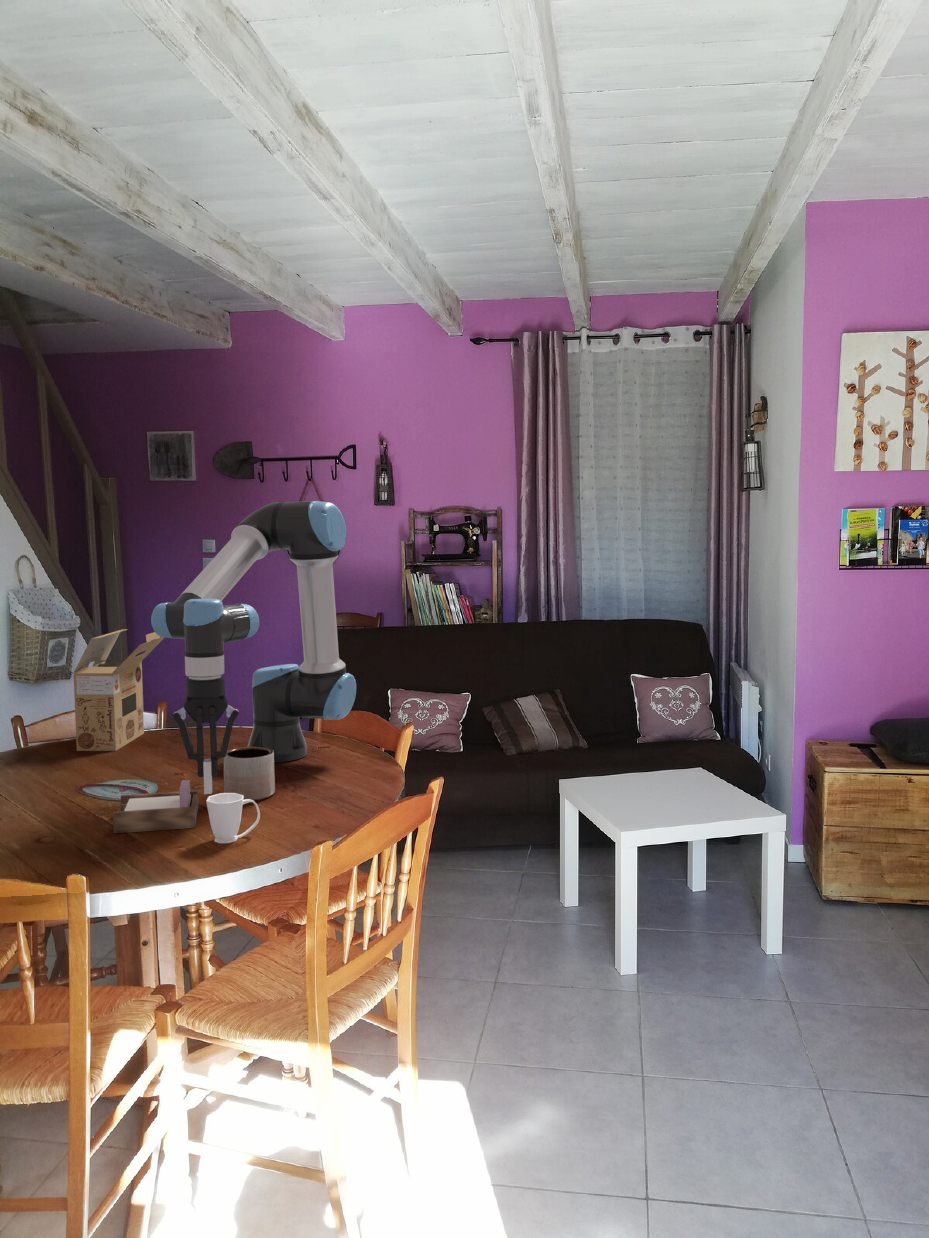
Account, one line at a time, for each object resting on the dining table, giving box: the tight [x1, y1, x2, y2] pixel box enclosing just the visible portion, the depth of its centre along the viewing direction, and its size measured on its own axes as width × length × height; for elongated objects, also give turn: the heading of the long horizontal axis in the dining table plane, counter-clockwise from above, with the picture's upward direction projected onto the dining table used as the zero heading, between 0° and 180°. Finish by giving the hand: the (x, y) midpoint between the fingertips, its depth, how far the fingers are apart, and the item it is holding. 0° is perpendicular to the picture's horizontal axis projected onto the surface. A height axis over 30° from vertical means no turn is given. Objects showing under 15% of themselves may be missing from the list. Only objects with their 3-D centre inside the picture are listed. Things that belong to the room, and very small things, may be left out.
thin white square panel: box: [124, 779, 191, 811], centre depth 183 cm, size 12×10×4 cm
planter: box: [223, 746, 276, 802], centre depth 201 cm, size 11×11×10 cm
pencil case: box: [112, 790, 199, 834], centre depth 183 cm, size 15×12×4 cm
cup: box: [205, 792, 261, 844], centre depth 173 cm, size 7×10×8 cm
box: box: [73, 628, 166, 752], centre depth 249 cm, size 21×20×30 cm
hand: (208, 791), depth 185 cm, fingers closed
